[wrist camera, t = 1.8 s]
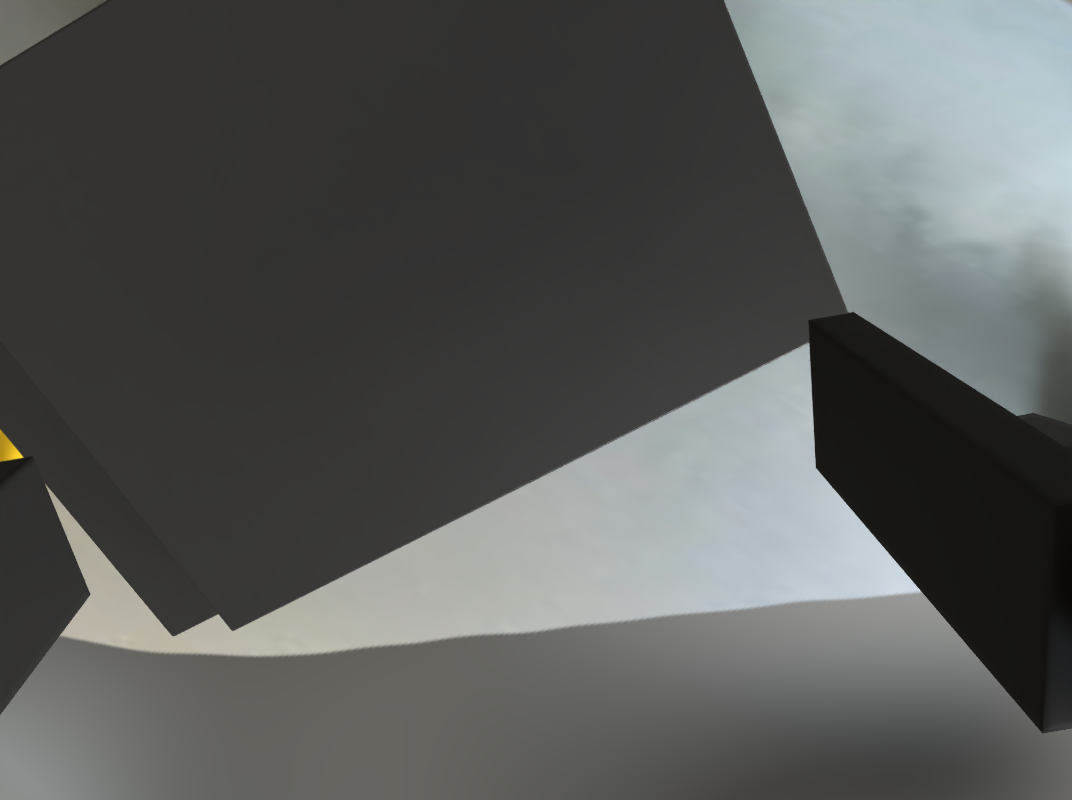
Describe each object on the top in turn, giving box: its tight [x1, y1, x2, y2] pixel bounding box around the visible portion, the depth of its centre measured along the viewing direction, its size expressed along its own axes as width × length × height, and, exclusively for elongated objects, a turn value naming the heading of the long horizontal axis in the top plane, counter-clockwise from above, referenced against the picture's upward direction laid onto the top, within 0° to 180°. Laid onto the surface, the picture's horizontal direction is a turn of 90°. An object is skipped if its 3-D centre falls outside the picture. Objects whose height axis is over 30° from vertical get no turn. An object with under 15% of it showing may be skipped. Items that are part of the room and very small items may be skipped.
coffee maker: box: [0, 0, 848, 636], centre depth 33 cm, size 22×14×28 cm, turn 118°
